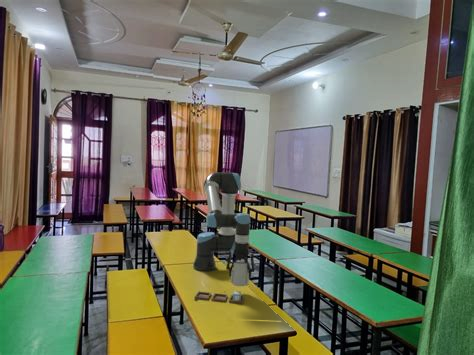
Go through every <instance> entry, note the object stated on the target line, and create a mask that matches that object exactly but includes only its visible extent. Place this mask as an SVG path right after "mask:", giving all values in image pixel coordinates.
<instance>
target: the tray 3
mask: <svg viewBox="0 0 474 355" xmlns="http://www.w3.org/2000/svg"><path fill="white" fill-rule="evenodd" d="M244 300H245V296H242V295H241V301H233V294H232V295H230V297H229V299H228V303H230V304H239V305H244Z"/></svg>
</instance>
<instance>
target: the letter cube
mask: <svg viewBox="0 0 474 355" xmlns="http://www.w3.org/2000/svg"><path fill="white" fill-rule="evenodd" d="M241 294H242V291H232V295H233V301H241V296H242V295H241Z"/></svg>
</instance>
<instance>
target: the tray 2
mask: <svg viewBox="0 0 474 355" xmlns="http://www.w3.org/2000/svg"><path fill="white" fill-rule="evenodd" d="M228 297H229V296H228V294H226V293H225V294H224V293H216V292H215V293H213V295H212V297H211V298H210V299H211V301H212V302H220V303H221V302H222V303H226V301H227V299H228Z"/></svg>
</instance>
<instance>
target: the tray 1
mask: <svg viewBox="0 0 474 355" xmlns="http://www.w3.org/2000/svg"><path fill="white" fill-rule="evenodd" d="M199 291H200V290H199ZM199 291H197V292H196V294H195V296H194V298H193V299H194V300H195V301H198V300H202V301H203V300H204V301H209V299H211V296H212V292H205V291H200V292H199Z"/></svg>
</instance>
